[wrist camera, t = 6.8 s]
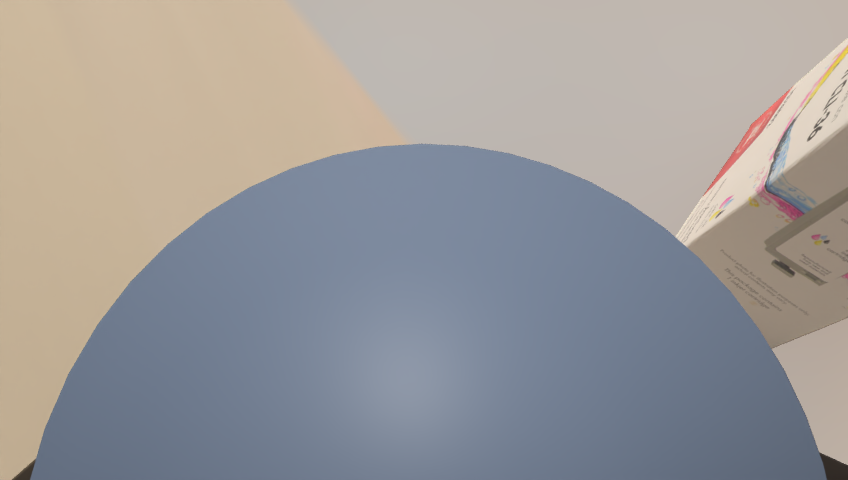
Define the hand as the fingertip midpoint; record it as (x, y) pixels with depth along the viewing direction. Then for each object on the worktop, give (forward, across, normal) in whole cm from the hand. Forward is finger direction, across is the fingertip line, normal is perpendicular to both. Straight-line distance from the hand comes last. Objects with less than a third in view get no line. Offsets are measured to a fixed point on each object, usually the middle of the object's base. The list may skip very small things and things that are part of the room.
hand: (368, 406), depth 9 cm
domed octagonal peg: (+3, 0, +5) cm, 6 cm away
